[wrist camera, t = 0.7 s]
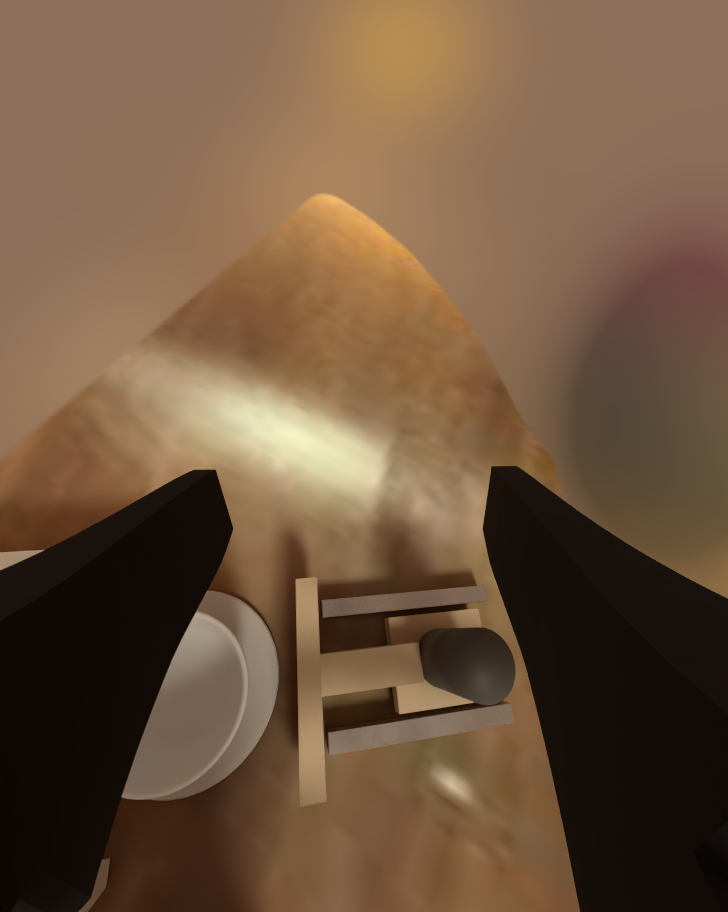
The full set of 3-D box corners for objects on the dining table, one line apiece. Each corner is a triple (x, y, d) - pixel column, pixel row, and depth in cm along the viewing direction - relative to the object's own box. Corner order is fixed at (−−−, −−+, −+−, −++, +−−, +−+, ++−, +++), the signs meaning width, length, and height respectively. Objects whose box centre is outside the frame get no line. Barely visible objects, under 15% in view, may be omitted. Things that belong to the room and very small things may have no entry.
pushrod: (497, 745, 22) (574, 788, 16) (299, 781, 20) (300, 847, 14) (462, 571, 26) (512, 552, 20) (295, 585, 24) (295, 569, 18)
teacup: (245, 564, 24) (235, 550, 20) (305, 725, 21) (308, 748, 17) (73, 641, 21) (17, 644, 17) (113, 846, 18) (58, 911, 14)
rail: (506, 719, 23) (514, 723, 22) (327, 750, 21) (329, 755, 20) (477, 586, 26) (484, 585, 25) (321, 601, 24) (321, 600, 23)
